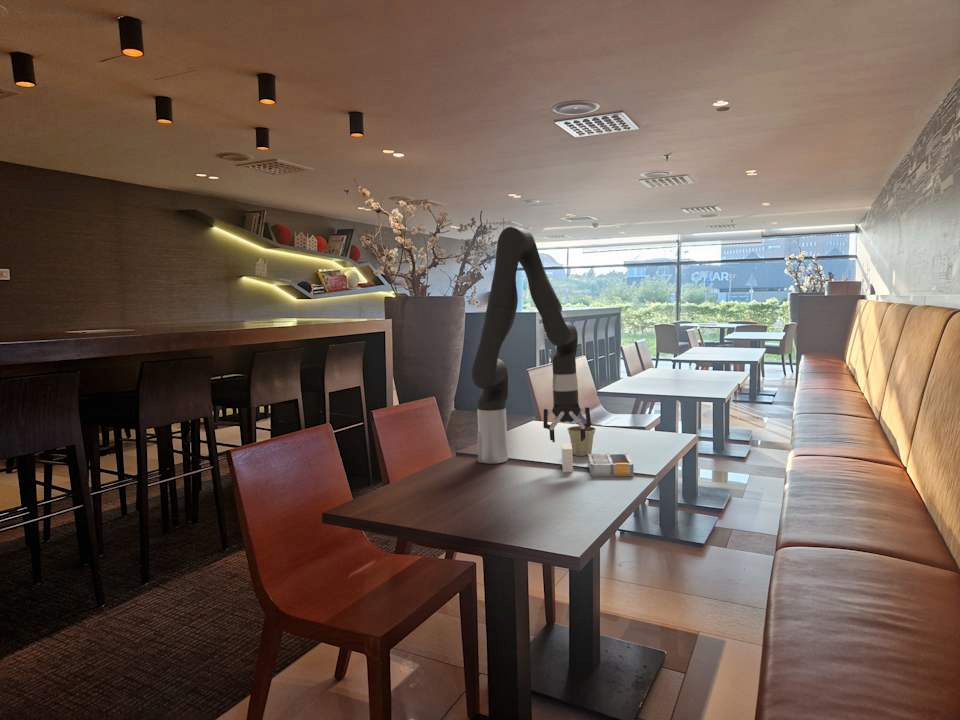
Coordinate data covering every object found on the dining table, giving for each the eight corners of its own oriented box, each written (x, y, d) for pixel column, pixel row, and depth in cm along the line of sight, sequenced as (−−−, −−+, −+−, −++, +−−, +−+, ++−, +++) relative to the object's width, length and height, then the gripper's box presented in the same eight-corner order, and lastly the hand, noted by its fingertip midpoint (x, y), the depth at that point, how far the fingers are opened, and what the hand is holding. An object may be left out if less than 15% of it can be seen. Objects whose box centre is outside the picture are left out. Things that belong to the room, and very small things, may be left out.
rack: (591, 477, 180) (591, 464, 180) (588, 465, 194) (587, 453, 193) (633, 476, 179) (633, 463, 179) (627, 464, 192) (627, 452, 192)
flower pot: (595, 450, 212) (594, 425, 211) (597, 457, 202) (597, 431, 202) (567, 451, 213) (566, 426, 212) (568, 457, 203) (567, 431, 203)
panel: (562, 472, 187) (562, 449, 186) (562, 465, 195) (561, 443, 194) (572, 472, 187) (572, 449, 186) (571, 465, 195) (571, 443, 194)
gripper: (541, 391, 185) (544, 444, 187) (590, 389, 184) (592, 443, 185) (541, 387, 193) (544, 439, 194) (588, 385, 191) (590, 438, 193)
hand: (567, 441), depth 190 cm, fingers open, 8 cm apart
